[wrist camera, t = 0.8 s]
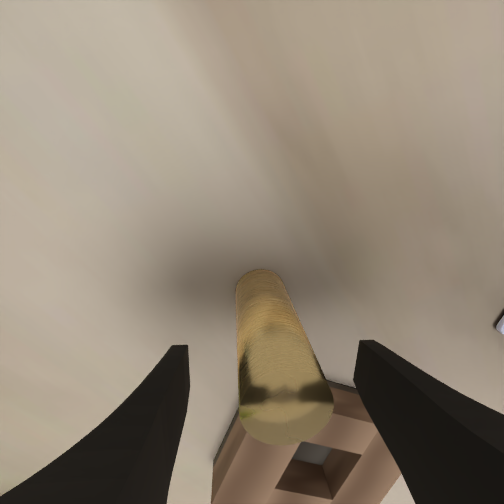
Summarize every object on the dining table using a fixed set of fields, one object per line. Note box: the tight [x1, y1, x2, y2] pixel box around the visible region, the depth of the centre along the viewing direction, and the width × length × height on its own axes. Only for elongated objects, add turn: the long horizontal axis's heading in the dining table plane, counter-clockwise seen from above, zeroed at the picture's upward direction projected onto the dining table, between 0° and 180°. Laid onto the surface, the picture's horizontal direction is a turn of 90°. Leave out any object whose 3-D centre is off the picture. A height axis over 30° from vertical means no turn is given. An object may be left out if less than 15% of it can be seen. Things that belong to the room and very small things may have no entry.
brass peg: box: [236, 269, 334, 446], centre depth 13 cm, size 3×3×9 cm
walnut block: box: [211, 380, 401, 504], centre depth 20 cm, size 12×10×3 cm
